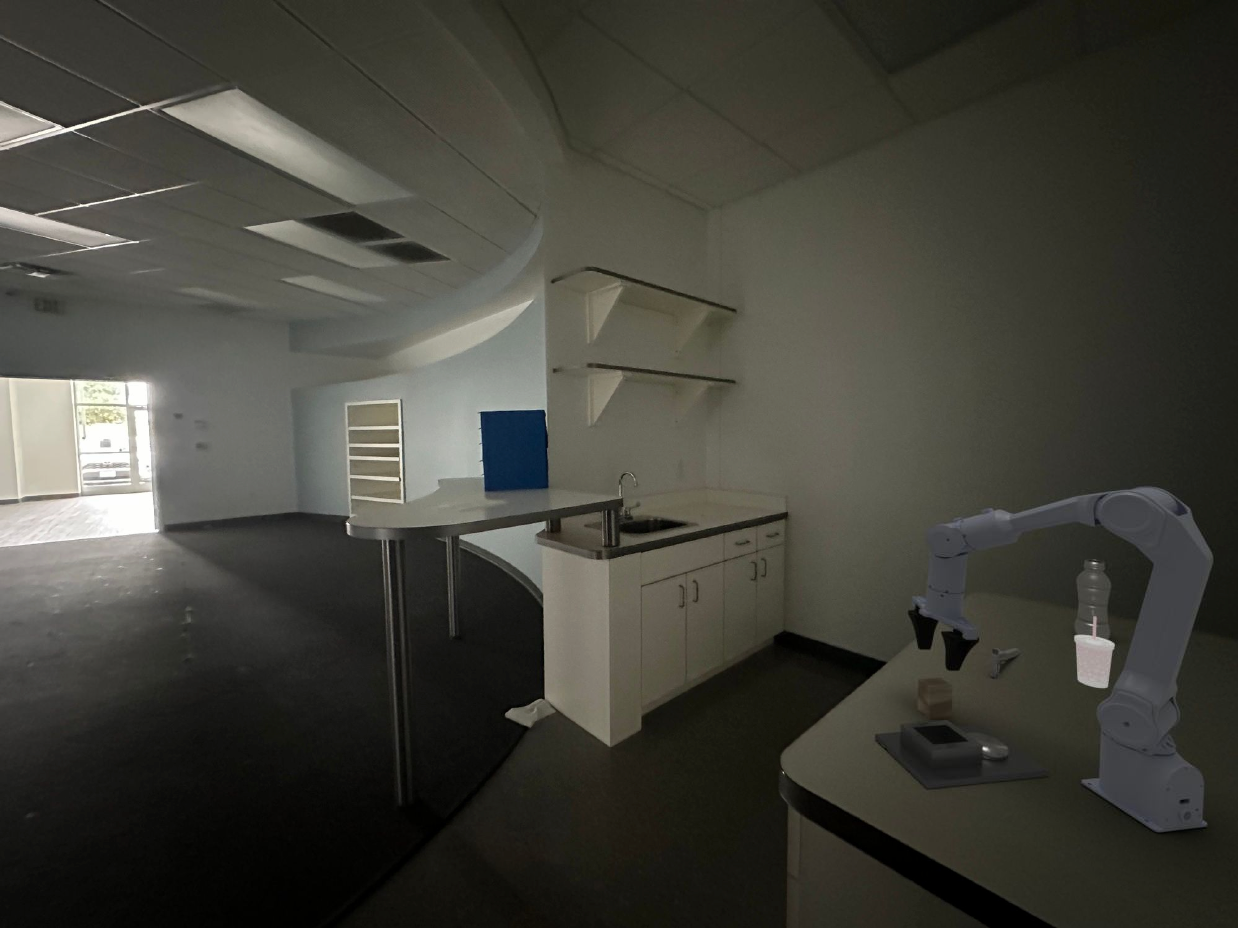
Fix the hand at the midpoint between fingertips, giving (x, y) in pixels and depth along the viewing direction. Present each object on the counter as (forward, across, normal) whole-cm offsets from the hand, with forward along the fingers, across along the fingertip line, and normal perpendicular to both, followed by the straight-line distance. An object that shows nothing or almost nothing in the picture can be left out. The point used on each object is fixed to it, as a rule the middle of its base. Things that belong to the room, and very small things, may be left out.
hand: (937, 658), depth 92 cm
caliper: (+11, -17, +30) cm, 36 cm away
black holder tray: (+10, +13, -5) cm, 17 cm away
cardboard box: (+10, +1, 0) cm, 10 cm away
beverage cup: (+10, -8, +40) cm, 42 cm away
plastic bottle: (+10, -28, +62) cm, 69 cm away
